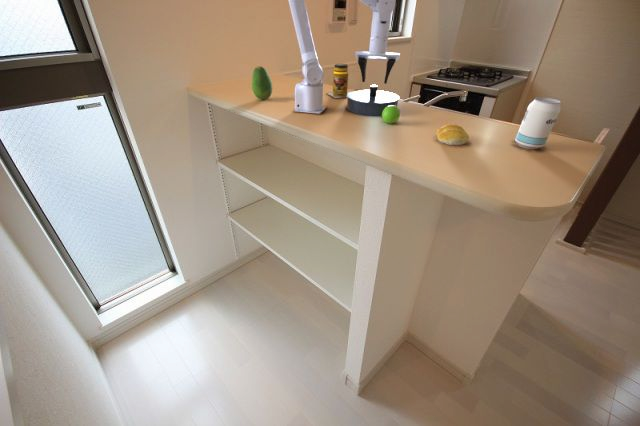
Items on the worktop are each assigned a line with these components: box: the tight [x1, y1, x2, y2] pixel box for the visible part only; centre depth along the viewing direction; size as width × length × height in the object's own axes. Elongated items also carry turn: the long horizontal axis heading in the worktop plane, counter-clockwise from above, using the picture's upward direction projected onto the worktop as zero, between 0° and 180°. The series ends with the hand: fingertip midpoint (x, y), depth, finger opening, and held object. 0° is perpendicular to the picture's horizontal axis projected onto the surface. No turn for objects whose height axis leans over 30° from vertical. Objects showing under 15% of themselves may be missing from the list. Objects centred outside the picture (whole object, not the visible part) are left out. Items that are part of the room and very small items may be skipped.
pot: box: [346, 98, 399, 117], centre depth 109 cm, size 18×18×4 cm
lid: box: [346, 84, 400, 104], centre depth 107 cm, size 19×19×4 cm
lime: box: [381, 105, 401, 124], centre depth 95 cm, size 6×6×6 cm
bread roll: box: [436, 123, 470, 146], centre depth 83 cm, size 8×9×4 cm
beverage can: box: [514, 97, 562, 150], centre depth 78 cm, size 7×7×12 cm
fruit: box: [251, 65, 273, 101], centre depth 115 cm, size 8×8×12 cm
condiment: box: [327, 63, 349, 99], centre depth 123 cm, size 7×8×12 cm
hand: (374, 82), depth 105 cm, fingers open, 7 cm apart
